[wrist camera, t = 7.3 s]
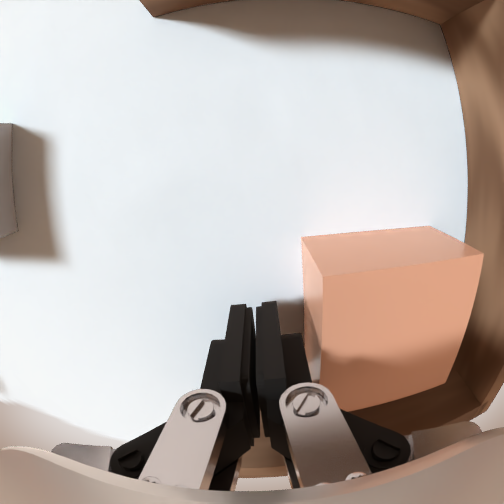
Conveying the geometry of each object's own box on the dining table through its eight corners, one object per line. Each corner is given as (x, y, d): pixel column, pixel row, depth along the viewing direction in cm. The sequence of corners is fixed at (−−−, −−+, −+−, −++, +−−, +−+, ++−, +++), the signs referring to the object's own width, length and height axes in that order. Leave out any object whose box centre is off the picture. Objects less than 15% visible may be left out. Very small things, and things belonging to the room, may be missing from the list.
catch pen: (153, -1, 7) (107, -61, 2) (449, 13, 6) (504, -15, 1) (216, 401, 13) (205, 476, 9) (449, 359, 13) (486, 410, 8)
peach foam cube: (299, 235, 11) (322, 276, 7) (426, 224, 10) (484, 253, 6) (303, 354, 12) (316, 417, 9) (410, 334, 12) (445, 383, 8)
